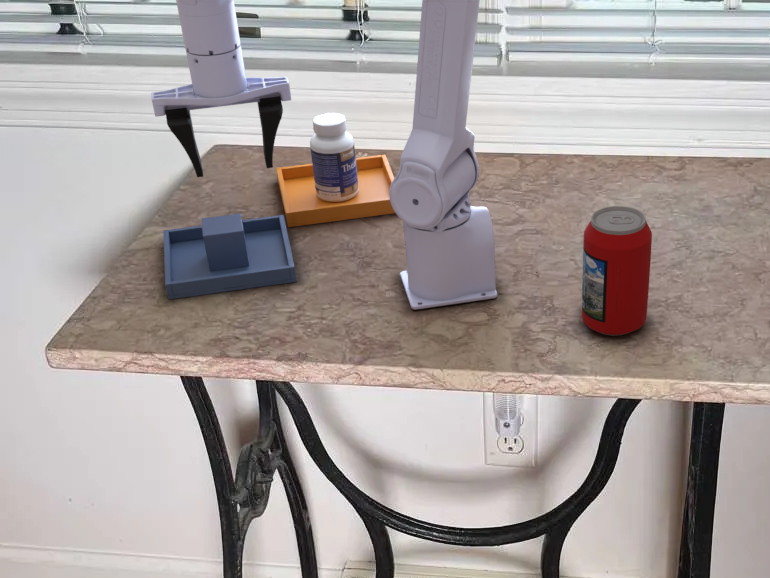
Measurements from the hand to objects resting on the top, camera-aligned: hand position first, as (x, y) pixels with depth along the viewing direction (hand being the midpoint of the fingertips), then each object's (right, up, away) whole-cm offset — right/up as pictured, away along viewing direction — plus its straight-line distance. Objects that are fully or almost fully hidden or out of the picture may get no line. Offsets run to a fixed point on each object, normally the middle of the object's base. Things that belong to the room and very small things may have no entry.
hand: (234, 168), depth 132 cm
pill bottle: (+10, +1, +17) cm, 20 cm away
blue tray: (-2, -10, +5) cm, 11 cm away
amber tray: (+10, +1, +17) cm, 20 cm away
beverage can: (+41, -18, -8) cm, 46 cm away
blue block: (-2, -9, +4) cm, 10 cm away
